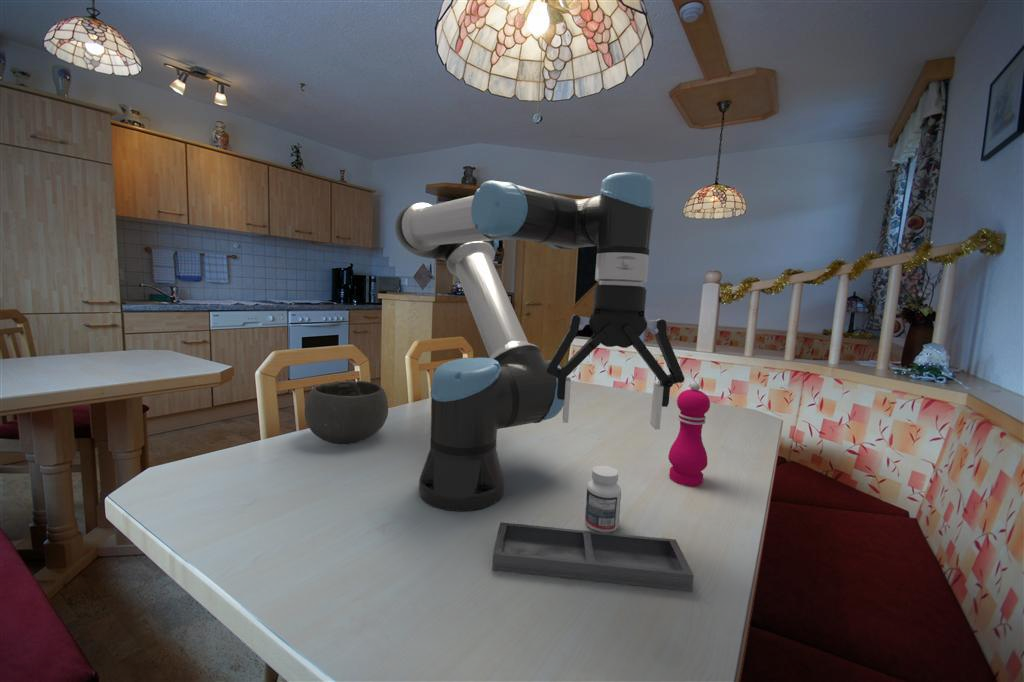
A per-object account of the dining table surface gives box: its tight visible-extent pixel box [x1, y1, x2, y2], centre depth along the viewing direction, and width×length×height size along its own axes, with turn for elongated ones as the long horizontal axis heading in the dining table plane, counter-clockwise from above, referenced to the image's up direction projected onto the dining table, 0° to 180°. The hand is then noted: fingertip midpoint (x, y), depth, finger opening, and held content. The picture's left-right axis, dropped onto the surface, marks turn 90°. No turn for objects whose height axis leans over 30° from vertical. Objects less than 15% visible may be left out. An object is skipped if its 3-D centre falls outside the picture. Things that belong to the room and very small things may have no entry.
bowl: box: [304, 380, 389, 446], centre depth 97 cm, size 18×18×13 cm
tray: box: [491, 521, 695, 592], centre depth 57 cm, size 25×8×2 cm, turn 84°
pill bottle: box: [584, 465, 622, 533], centre depth 66 cm, size 5×5×9 cm
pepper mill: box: [668, 381, 711, 487], centre depth 83 cm, size 7×7×20 cm
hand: (609, 423), depth 65 cm, fingers open, 13 cm apart
